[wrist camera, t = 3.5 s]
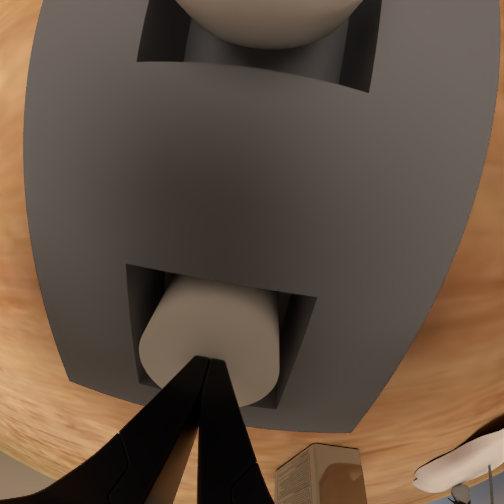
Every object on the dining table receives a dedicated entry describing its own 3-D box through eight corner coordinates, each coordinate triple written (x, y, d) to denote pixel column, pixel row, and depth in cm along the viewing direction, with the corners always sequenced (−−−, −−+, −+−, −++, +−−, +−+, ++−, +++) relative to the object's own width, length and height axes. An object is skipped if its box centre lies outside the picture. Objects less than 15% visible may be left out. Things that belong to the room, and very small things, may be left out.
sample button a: (267, 338, 12) (264, 416, 9) (174, 321, 12) (144, 393, 9) (288, 253, 11) (295, 327, 7) (177, 234, 11) (133, 297, 7)
